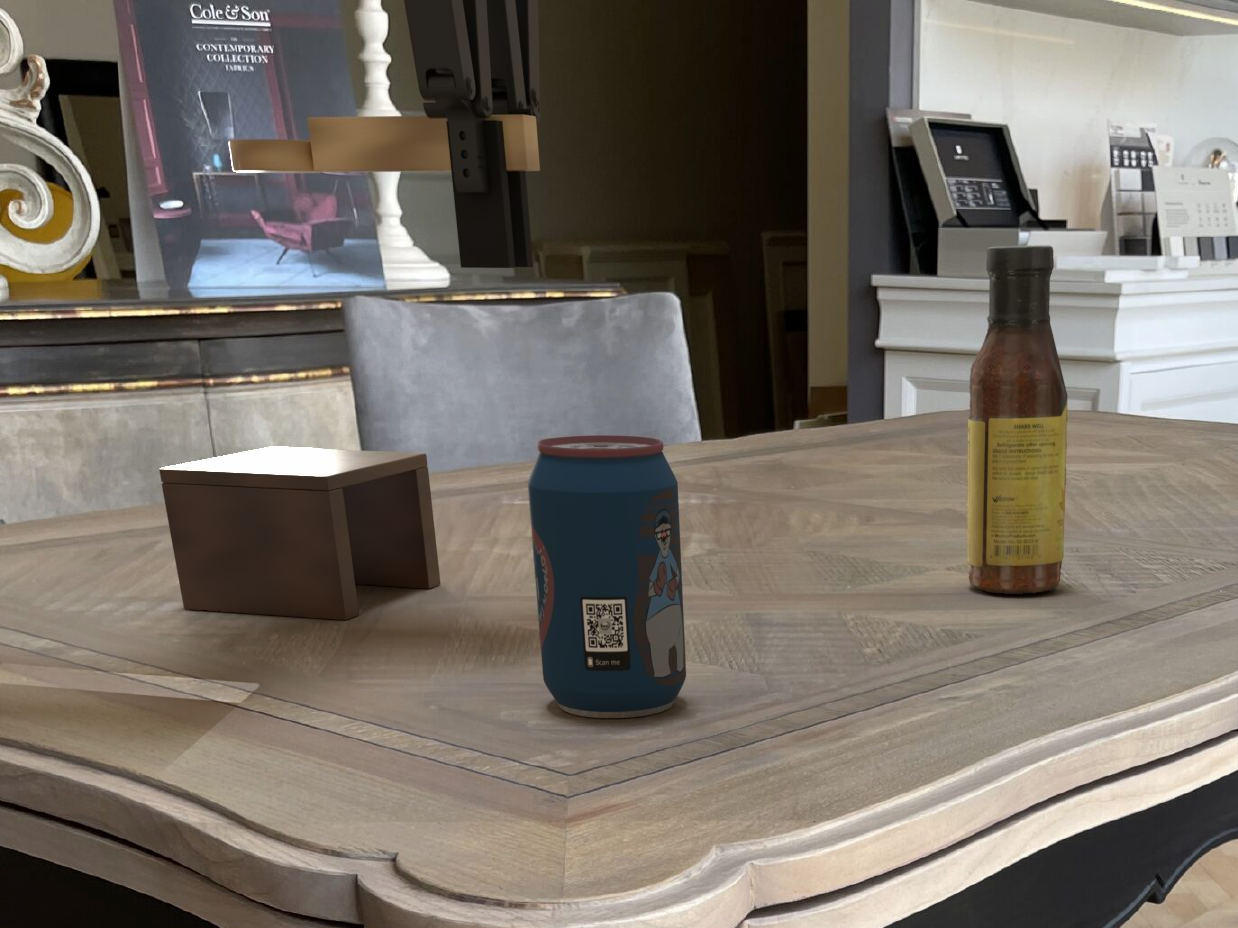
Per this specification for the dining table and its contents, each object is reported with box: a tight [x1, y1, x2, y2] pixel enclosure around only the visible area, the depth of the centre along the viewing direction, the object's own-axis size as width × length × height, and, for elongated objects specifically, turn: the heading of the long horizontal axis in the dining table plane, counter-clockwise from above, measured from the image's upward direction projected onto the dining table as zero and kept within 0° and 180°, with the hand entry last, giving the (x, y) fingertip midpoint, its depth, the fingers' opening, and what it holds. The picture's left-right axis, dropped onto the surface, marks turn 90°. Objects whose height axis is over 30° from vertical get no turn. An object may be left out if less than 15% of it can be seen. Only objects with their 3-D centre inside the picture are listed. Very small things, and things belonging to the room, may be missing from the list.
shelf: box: [159, 446, 442, 621], centre depth 105 cm, size 11×12×8 cm
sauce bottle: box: [967, 244, 1069, 595], centre depth 106 cm, size 7×6×20 cm
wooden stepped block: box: [228, 114, 541, 174], centre depth 87 cm, size 17×5×2 cm, turn 76°
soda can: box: [527, 434, 687, 719], centre depth 81 cm, size 7×7×12 cm
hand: (497, 266), depth 89 cm, fingers closed on wooden stepped block, 2 cm apart
